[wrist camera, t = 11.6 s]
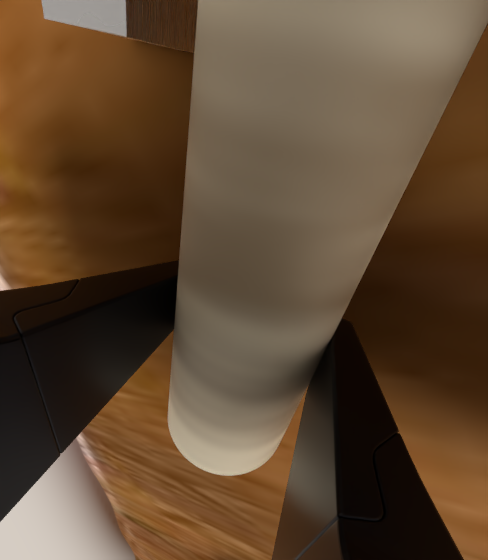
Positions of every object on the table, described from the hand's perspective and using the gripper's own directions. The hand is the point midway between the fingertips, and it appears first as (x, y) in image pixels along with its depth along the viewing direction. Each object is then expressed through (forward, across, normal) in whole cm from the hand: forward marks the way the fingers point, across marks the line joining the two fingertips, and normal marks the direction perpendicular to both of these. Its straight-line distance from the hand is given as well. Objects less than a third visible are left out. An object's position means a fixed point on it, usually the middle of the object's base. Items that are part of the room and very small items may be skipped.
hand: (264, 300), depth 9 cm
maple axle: (+1, 0, -2) cm, 2 cm away
